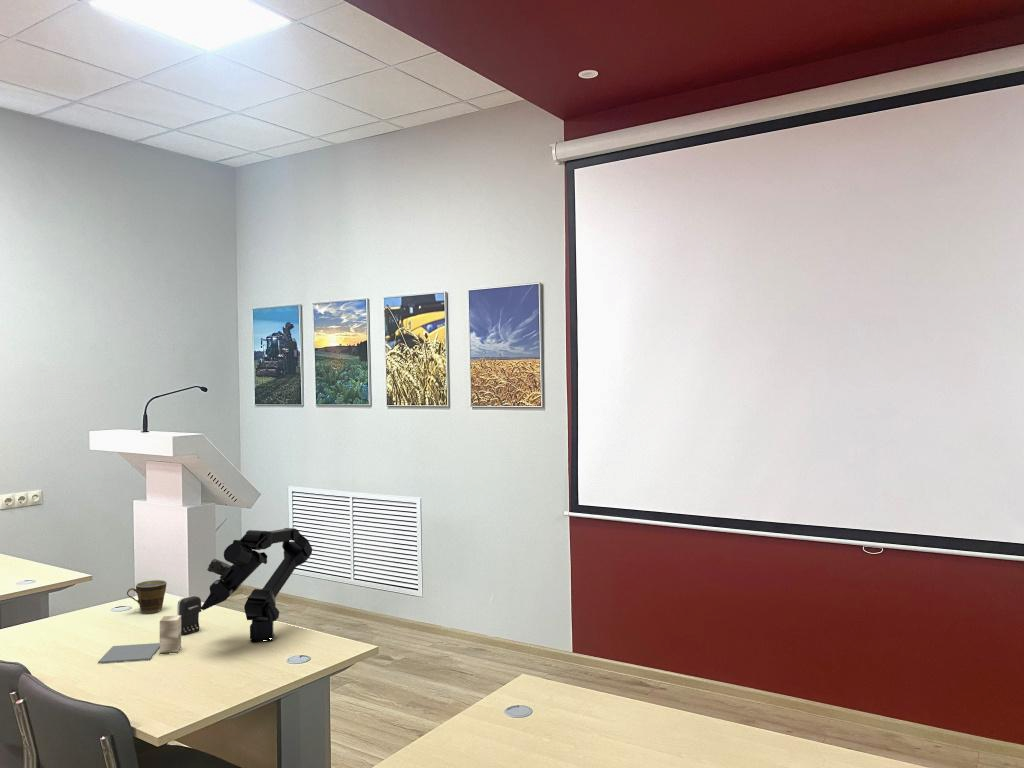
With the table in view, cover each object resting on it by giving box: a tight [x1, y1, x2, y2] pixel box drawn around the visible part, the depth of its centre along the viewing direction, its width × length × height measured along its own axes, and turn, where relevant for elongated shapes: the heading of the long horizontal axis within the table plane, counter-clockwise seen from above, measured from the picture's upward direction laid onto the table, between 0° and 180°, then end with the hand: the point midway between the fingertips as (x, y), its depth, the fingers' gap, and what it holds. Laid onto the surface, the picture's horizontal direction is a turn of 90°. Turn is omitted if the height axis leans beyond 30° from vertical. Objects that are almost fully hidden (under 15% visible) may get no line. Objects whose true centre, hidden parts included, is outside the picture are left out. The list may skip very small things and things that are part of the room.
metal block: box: [159, 614, 182, 655], centre depth 230 cm, size 5×5×10 cm
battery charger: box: [177, 595, 202, 636], centre depth 248 cm, size 7×4×11 cm, turn 147°
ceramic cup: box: [126, 579, 167, 615], centre depth 271 cm, size 13×10×10 cm
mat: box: [97, 642, 160, 664], centre depth 227 cm, size 14×14×1 cm
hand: (205, 606), depth 232 cm, fingers open, 9 cm apart
